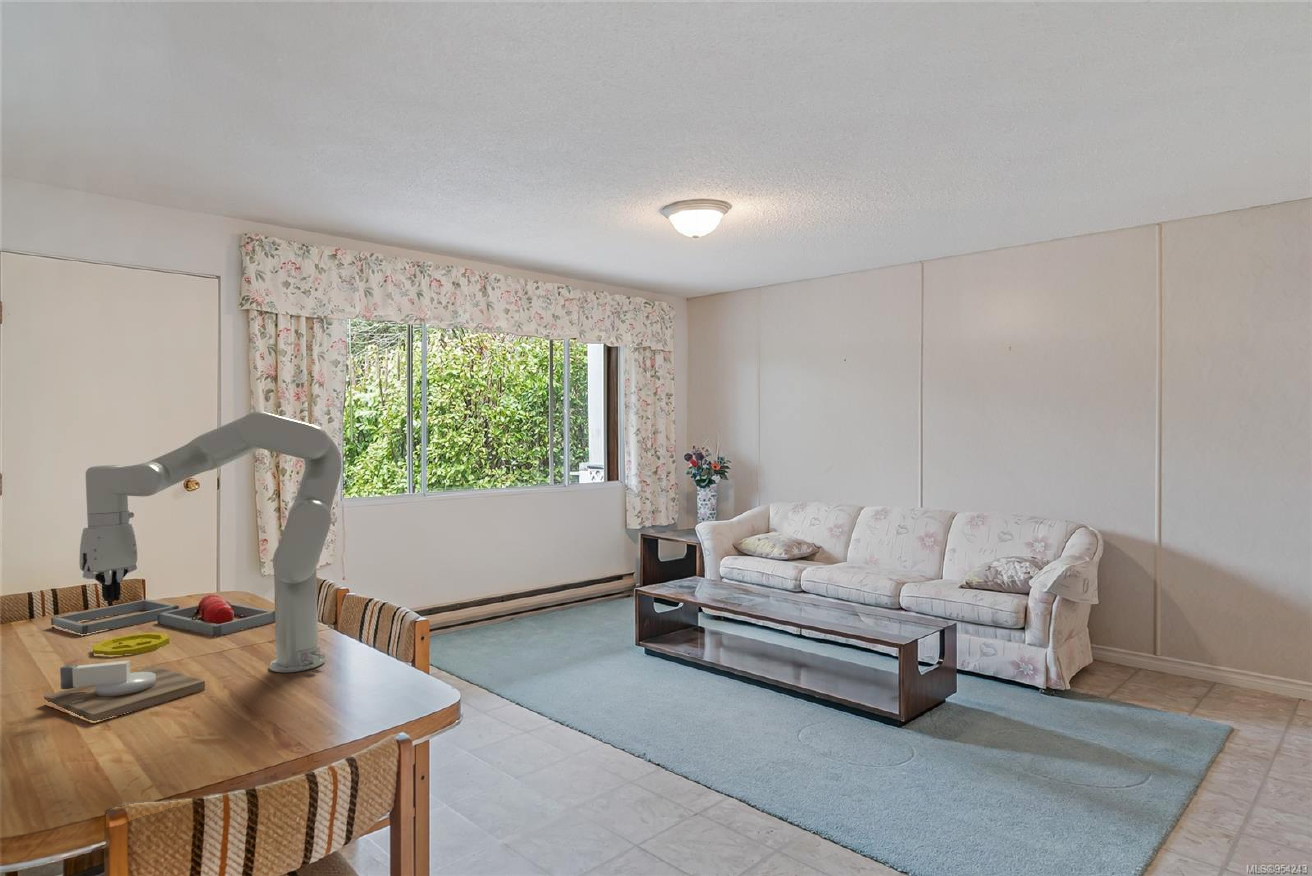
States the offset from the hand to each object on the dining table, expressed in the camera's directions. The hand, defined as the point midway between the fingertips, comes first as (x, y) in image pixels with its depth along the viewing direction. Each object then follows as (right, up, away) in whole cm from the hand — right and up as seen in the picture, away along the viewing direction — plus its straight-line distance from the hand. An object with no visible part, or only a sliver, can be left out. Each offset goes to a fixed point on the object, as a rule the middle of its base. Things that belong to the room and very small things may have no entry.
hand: (111, 600), depth 170 cm
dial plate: (+6, -21, -4) cm, 22 cm away
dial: (+3, -19, -5) cm, 19 cm away
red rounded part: (-12, -20, +59) cm, 63 cm away
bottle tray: (-11, -20, +59) cm, 63 cm away
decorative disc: (-19, -21, +34) cm, 45 cm away
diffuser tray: (-44, -20, +62) cm, 79 cm away
